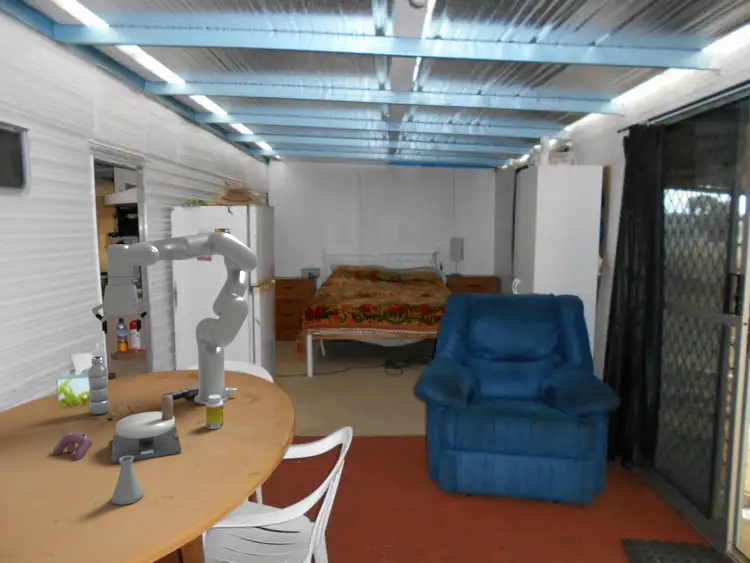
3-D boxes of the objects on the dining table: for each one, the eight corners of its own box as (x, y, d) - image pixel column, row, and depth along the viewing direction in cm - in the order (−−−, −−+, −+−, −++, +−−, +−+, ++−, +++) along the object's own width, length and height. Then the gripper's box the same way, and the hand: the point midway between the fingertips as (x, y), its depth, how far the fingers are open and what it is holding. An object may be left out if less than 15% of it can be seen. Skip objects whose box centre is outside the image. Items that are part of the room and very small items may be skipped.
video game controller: (89, 460, 144) (97, 435, 146) (76, 459, 140) (85, 434, 142) (63, 455, 147) (72, 430, 150) (50, 454, 143) (59, 429, 145)
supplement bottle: (224, 428, 165) (223, 398, 164) (206, 430, 164) (205, 400, 163) (223, 422, 171) (222, 393, 170) (205, 424, 169) (205, 394, 168)
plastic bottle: (114, 410, 180) (112, 355, 178) (102, 417, 173) (100, 360, 171) (97, 409, 180) (95, 354, 179) (84, 416, 174) (82, 359, 172)
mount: (175, 430, 163) (175, 414, 162) (181, 453, 147) (180, 434, 146) (113, 439, 155) (112, 422, 154) (111, 464, 139) (111, 445, 138)
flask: (118, 490, 125) (117, 452, 124) (148, 490, 126) (147, 451, 125) (105, 506, 118) (103, 465, 117) (137, 505, 118) (136, 464, 117)
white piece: (118, 421, 154) (117, 393, 154) (174, 415, 161) (173, 387, 160) (113, 441, 140) (112, 410, 139) (175, 433, 146) (174, 403, 145)
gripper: (148, 279, 174) (149, 328, 176) (91, 281, 166) (93, 331, 168) (149, 281, 167) (150, 332, 169) (90, 283, 160) (91, 336, 161)
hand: (122, 332), depth 168 cm, fingers open, 9 cm apart
